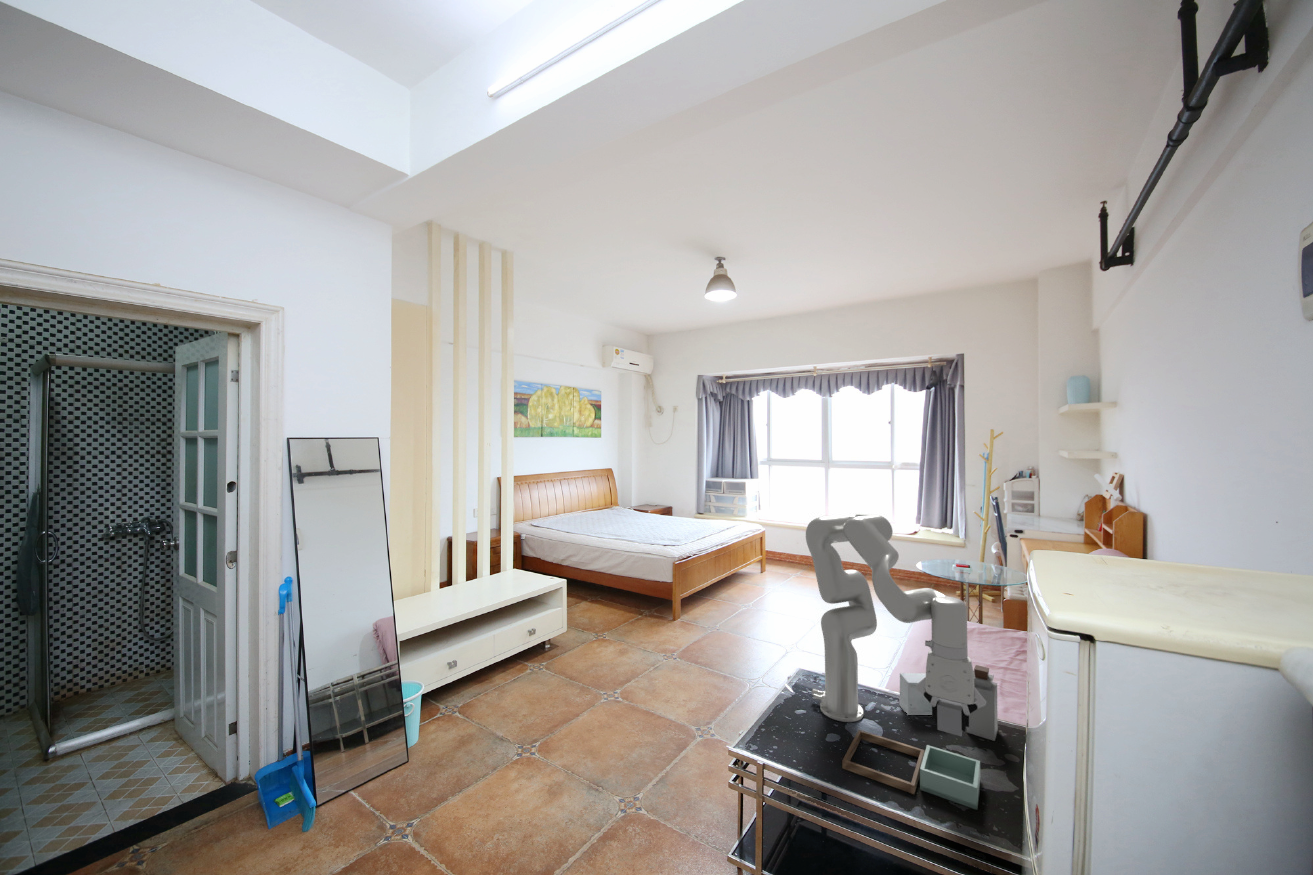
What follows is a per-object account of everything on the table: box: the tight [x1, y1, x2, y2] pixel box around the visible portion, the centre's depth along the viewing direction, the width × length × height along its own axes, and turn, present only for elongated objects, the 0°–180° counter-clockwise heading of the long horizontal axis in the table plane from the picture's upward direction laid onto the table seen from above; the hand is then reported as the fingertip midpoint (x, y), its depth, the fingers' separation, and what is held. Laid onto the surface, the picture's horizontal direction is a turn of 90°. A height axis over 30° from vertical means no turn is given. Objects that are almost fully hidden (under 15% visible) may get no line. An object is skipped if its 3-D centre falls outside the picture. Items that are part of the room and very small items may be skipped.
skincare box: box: [899, 672, 939, 716], centre depth 156 cm, size 10×6×10 cm, turn 88°
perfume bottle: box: [966, 664, 999, 742], centre depth 145 cm, size 7×7×18 cm
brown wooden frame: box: [841, 729, 926, 795], centre depth 132 cm, size 17×17×2 cm
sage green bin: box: [919, 744, 981, 811], centre depth 123 cm, size 12×12×5 cm
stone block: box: [936, 698, 964, 738], centre depth 123 cm, size 5×5×6 cm
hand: (950, 724), depth 123 cm, fingers closed on stone block, 5 cm apart
